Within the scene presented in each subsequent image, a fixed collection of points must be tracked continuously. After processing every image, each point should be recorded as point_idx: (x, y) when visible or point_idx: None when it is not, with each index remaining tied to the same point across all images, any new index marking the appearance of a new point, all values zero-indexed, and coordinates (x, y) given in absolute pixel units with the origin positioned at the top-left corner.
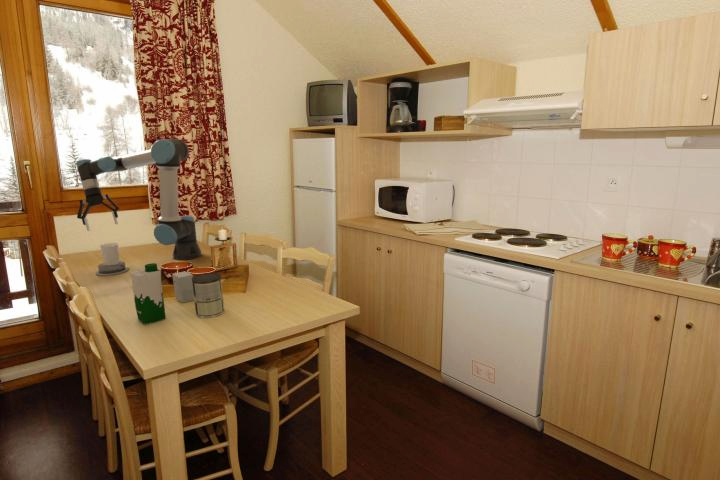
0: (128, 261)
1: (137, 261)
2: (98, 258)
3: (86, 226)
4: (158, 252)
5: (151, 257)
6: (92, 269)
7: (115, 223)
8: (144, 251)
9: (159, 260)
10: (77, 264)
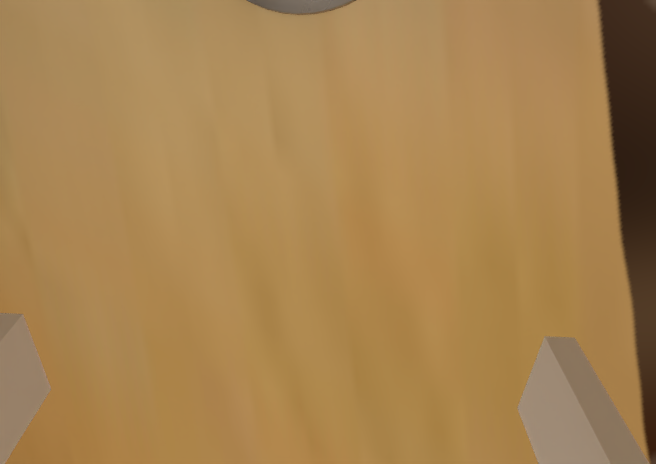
0: (225, 206)
1: (159, 167)
2: (452, 436)
3: (610, 411)
4: (66, 374)
5: (83, 245)
6: (476, 65)
7: (11, 320)
8: (162, 459)
9: (7, 108)
10: (602, 328)
